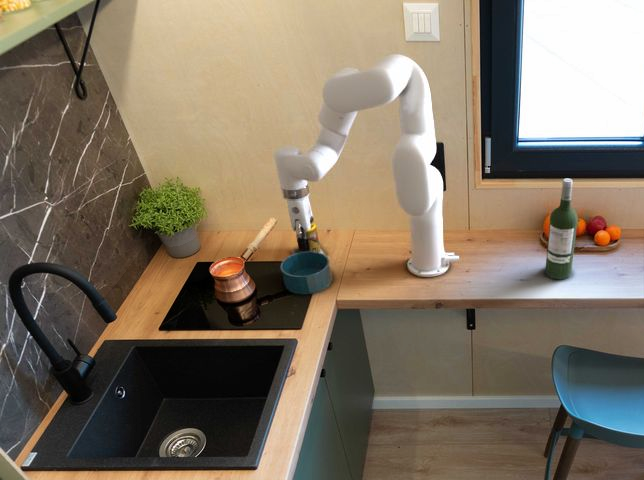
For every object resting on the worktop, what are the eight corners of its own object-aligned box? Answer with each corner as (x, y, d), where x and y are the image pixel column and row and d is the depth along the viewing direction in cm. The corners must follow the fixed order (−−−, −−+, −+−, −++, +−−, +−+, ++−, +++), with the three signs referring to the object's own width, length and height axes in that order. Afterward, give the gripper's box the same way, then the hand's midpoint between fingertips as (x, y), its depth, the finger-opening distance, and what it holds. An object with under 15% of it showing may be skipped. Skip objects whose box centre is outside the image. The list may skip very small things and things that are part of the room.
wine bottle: (545, 279, 178) (553, 186, 159) (544, 265, 185) (552, 173, 166) (571, 280, 178) (583, 187, 159) (570, 266, 184) (581, 174, 166)
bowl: (334, 267, 180) (331, 250, 176) (330, 293, 170) (326, 275, 166) (288, 269, 179) (284, 252, 175) (281, 295, 168) (277, 277, 165)
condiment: (325, 254, 186) (318, 220, 178) (298, 262, 182) (290, 227, 174) (316, 244, 190) (310, 210, 183) (290, 251, 187) (282, 216, 179)
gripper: (305, 203, 167) (315, 258, 178) (312, 177, 180) (321, 230, 192) (277, 204, 166) (289, 259, 177) (286, 178, 179) (297, 230, 191)
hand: (306, 243), depth 184 cm, fingers closed on condiment, 6 cm apart
